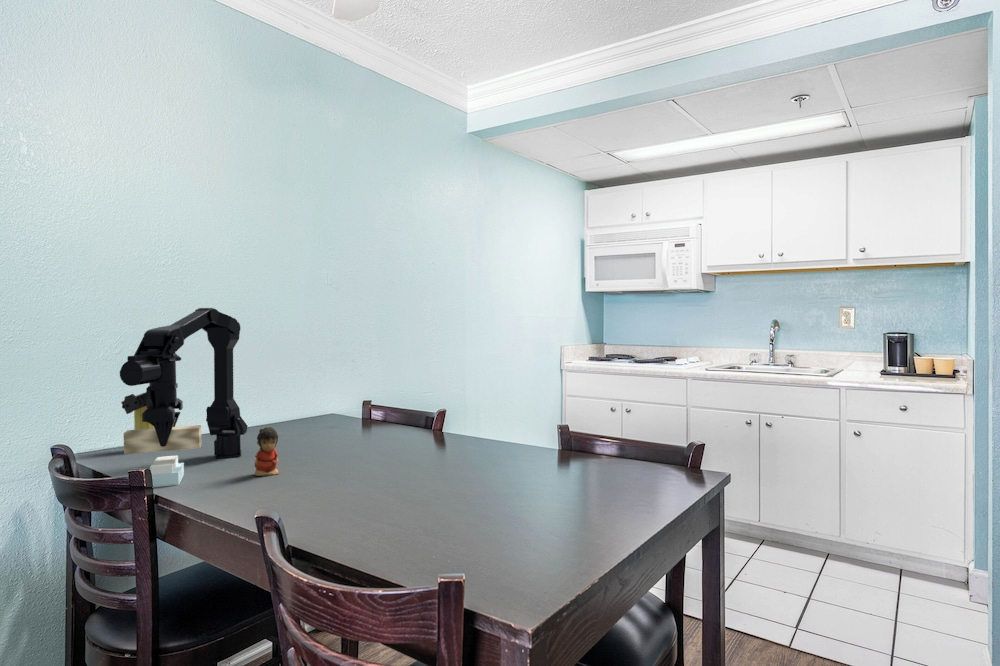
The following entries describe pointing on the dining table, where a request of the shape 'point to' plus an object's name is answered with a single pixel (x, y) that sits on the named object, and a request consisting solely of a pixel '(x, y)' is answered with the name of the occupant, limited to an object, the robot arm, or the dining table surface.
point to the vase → (140, 420)
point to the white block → (167, 471)
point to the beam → (149, 441)
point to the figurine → (266, 452)
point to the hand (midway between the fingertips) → (164, 444)
